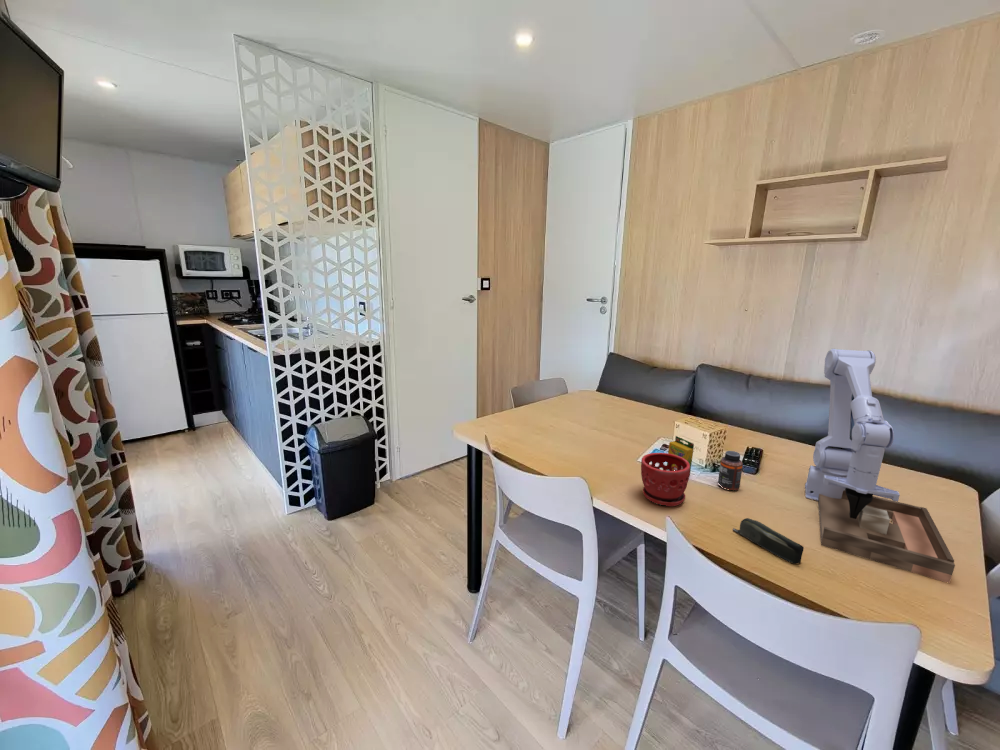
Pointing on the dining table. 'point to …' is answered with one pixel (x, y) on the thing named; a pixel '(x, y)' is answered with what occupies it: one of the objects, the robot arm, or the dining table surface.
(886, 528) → the block
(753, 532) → the mobile phone
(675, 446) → the crayon box
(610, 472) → the dining table surface
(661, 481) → the plant pot
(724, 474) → the supplement bottle
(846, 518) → the frame
